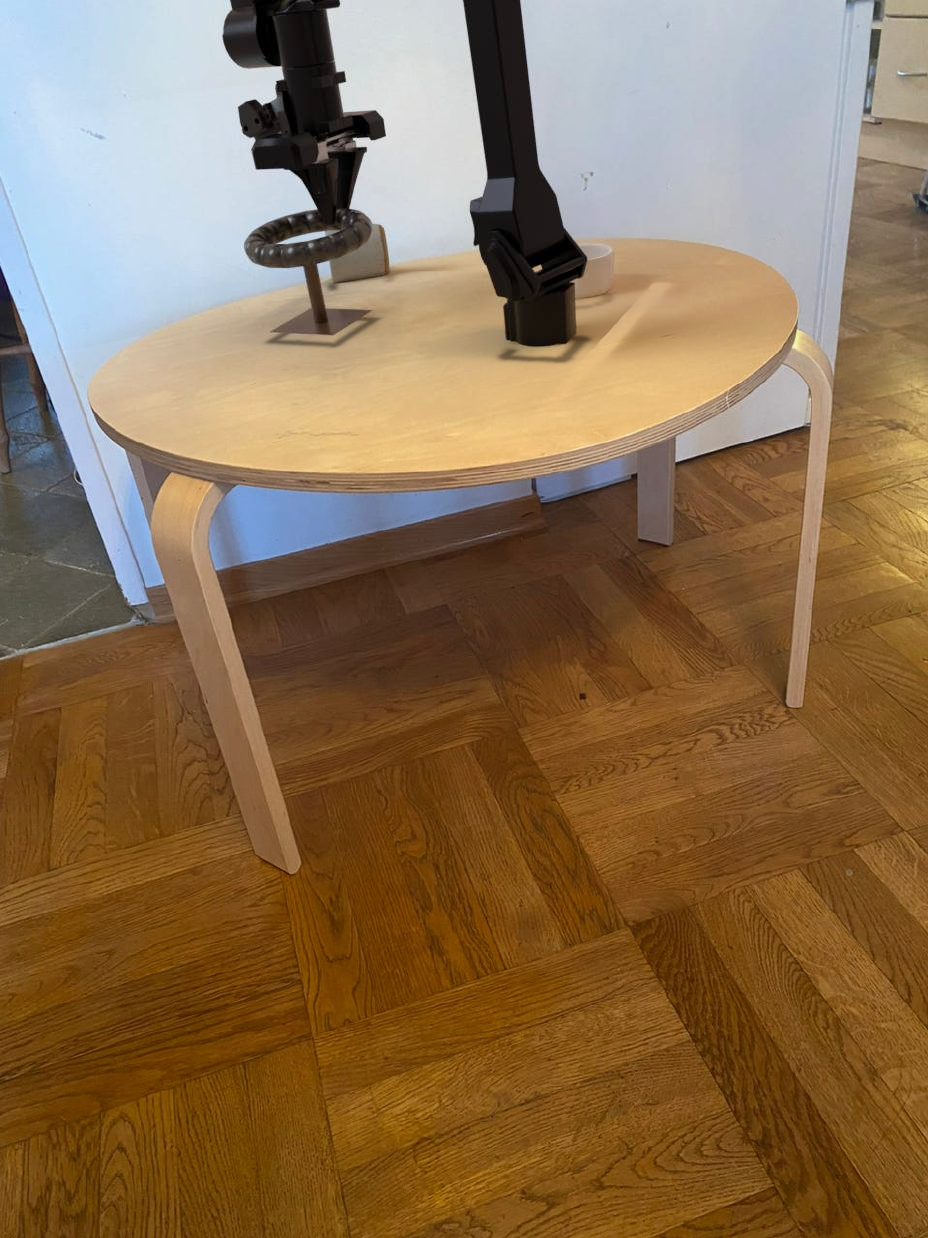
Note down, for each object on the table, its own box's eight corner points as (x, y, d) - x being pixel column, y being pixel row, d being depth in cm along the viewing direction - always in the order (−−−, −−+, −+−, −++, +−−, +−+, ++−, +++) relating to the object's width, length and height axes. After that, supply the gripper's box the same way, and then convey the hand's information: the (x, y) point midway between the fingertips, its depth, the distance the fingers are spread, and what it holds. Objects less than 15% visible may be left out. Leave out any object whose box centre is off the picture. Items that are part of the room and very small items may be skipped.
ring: (396, 226, 100) (392, 203, 98) (331, 272, 91) (326, 248, 89) (293, 226, 106) (288, 205, 104) (223, 270, 96) (216, 247, 95)
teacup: (621, 304, 99) (620, 255, 96) (554, 313, 99) (552, 264, 96) (602, 281, 108) (601, 235, 104) (541, 290, 108) (538, 244, 104)
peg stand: (374, 319, 105) (362, 248, 100) (334, 345, 99) (320, 270, 94) (312, 317, 109) (298, 248, 104) (271, 341, 103) (253, 269, 98)
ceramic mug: (394, 283, 117) (385, 222, 113) (334, 293, 116) (322, 232, 112) (385, 266, 126) (377, 209, 121) (329, 275, 125) (318, 218, 120)
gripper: (295, 60, 102) (322, 204, 111) (193, 82, 89) (233, 242, 98) (376, 52, 98) (397, 202, 107) (281, 73, 85) (314, 243, 94)
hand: (336, 221), depth 101 cm, fingers closed on ring, 2 cm apart
